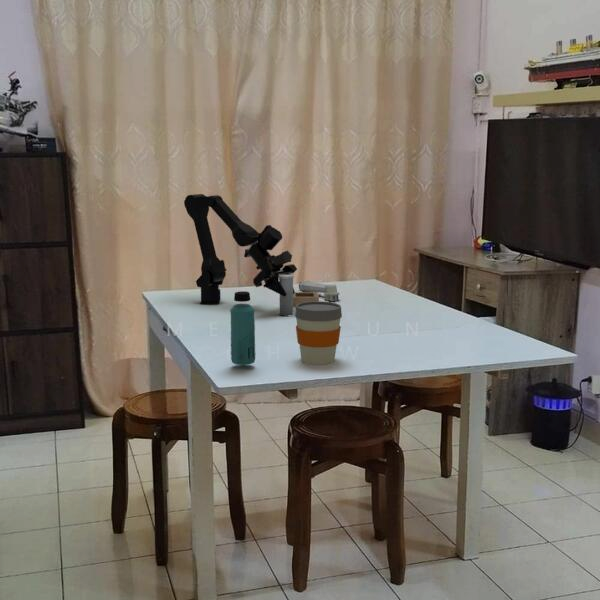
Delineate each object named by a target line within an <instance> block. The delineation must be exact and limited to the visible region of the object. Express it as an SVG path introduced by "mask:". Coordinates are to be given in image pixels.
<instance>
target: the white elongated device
mask: <svg viewBox="0 0 600 600" xmlns="http://www.w3.org/2000/svg"><path fill="white" fill-rule="evenodd" d="M337 288H338V287H337V285H336V284H324V283H318V282H313V281H310V280H304V281H300V283H299V284H298V290H299V291H301V290H302V291H301V292H317V293H322V294H323V295H324V298H325V299H324V300H325V302H333V301H339V295H340V292H338V289H337Z"/></svg>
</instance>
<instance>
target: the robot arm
mask: <svg viewBox="0 0 600 600" xmlns="http://www.w3.org/2000/svg"><path fill="white" fill-rule="evenodd" d="M183 203H184V204H183V205H184V207H185V210H186V213H187V214H188V216H189V217H190V219H192V220H193V223H194V228H195V232H196V236H197V240H198V243H199V249H200V253H201V257H202V262H201V267H200V270H201V274H200V276H199V277H198V278H197V279H196V281H195V283H196V286H197V287H198V288H200V305H219V303H220V302H221V288H220V286H222V285H223V283H224V279H225V278H226V277H227V276H226V275H227V273H226V272H227V268H226V266H225V260H224V259H221V260H220V258H219V257H218V256H217V253H216V248H215V243H214V241H213V237H212V232H211V228H210V224H209V220H208V215H209V213H210V208H211V209H212V211H214V212H215V214H216V215H217V216H218V217H219V218H220V219H221V221H222V222H223V223H224V224H225V225H226V226H227V227H228V228H229V230H230V231H231V235H232V236H231V237H233V239H234V241H235V242H236V244H237V245H238V246H239V247H240V248H241V247H243V248H244V247H249V248H246V249H245V250H244V254H243V255H244V258H246V259H247V258H250V257H251V259H252V260H253V262H254V263H255V264H256V265H257V266H256V267H255V268H256V269H257V270H260V271H259V272H258V273H257V274H256V275H255V276H254V278H253V280H252V284H253V286H255V288H259V287H263V288H266V289H268V290H270V291H273V292H275V293H276V294H279V296H280V295H282V296H284V297H285V296H286V295H287V294H286V292H285V290H284V289H283V287H282V286H281V284H280V278H279V273H294V274H295V272H296V271H297V270H298V268H297V266H296V265H295V264H293V263H292V264H287V263H290V262H292V259H293V254H291V253H290V252H289V250H285V251H282V252H281V253H280V254H278V255H272V254H270V251H272V250H274V248H275V247H276V246H277V245H278V244H279V243H280V242H281V241H282V240H283V234H282V233H281V231H280V230H278V229H277V228H275V227H273V226H272V225H271V224H267V225H265V227H264V228H263V230H262V231H261V232H258V231H257V230H256V229H255V228H254V227H253V226H252V225H250V224H247V223H245V222H244V221H243V220H241V219H240V218H239V217H238V215H237V213H235V211H234V210H232V209H231V207H230V206H229V205H228V204H227V203H226V202H225V201H224V200H223V197H222V196H220V195H217V194H215V195H209V196H208V195H205V194H203V193H195V194H188V195H187V196H186V197H185V199H184V200H183ZM285 264H286V265H285ZM263 281H264V284H263ZM295 292H296V291H295V288H294V287H293V294H294V293H295Z"/></svg>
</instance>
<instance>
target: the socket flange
mask: <svg viewBox="0 0 600 600" xmlns="http://www.w3.org/2000/svg"><path fill="white" fill-rule="evenodd" d="M318 294H319V293H318V292H304V291H299V292H297V291H295V293H294V294H293V307H296V305H297V304H299V303H304V302H314V301H320V300H319V299H320V298H319V297H320V296H319V295H318Z"/></svg>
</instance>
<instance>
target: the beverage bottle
mask: <svg viewBox="0 0 600 600" xmlns="http://www.w3.org/2000/svg"><path fill="white" fill-rule="evenodd" d="M250 294H251V293H250V292H249V291H236V292H234V297H233V300H234V301H235V302H241V303H236V304H234V305H233V306H232V307H231V308H230V336H229V337H230V359H231V361H230V362H231V363H232V364H234V365H240V366H244V365H245V366H247V365H252V364H254V363H255V362H256V351H257V350H256V347H257V346H256V333H255V332H256V325H255V323H256V322H255V312H256V311H255V307H253V306H252V305H251V304H249V303H242V302H249V301H251V295H250Z"/></svg>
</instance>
